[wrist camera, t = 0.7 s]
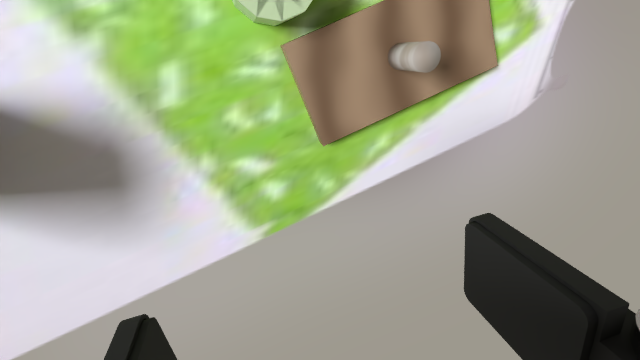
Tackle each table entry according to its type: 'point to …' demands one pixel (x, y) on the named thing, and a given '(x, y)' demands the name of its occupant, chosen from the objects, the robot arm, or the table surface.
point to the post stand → (388, 60)
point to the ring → (271, 10)
